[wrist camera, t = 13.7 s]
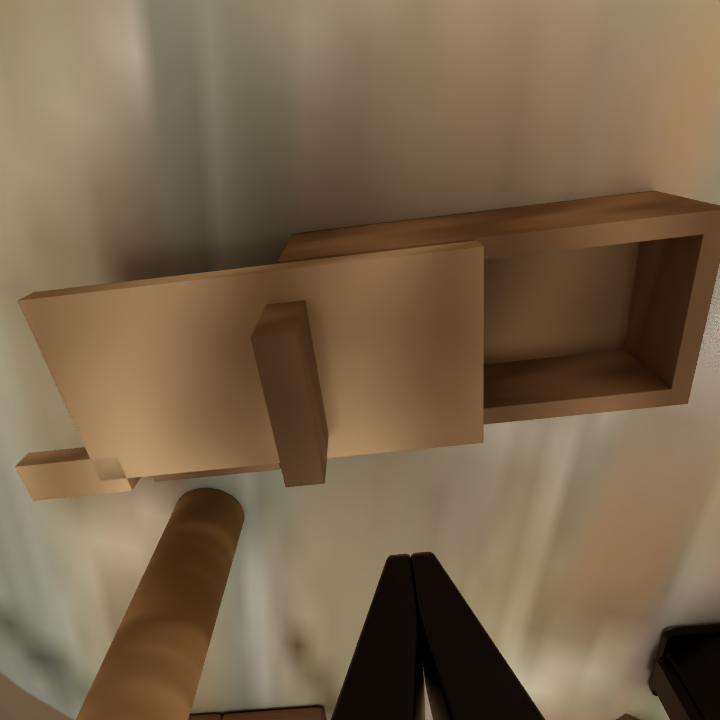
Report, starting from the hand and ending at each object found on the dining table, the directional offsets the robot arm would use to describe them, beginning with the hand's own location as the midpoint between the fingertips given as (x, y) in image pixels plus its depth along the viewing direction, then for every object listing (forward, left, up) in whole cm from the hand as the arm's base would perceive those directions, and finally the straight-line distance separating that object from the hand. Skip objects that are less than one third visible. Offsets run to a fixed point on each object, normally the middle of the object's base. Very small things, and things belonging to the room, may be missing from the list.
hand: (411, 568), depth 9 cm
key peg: (+10, +10, -13) cm, 19 cm away
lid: (+5, 0, -8) cm, 10 cm away
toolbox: (0, +1, -13) cm, 13 cm away
